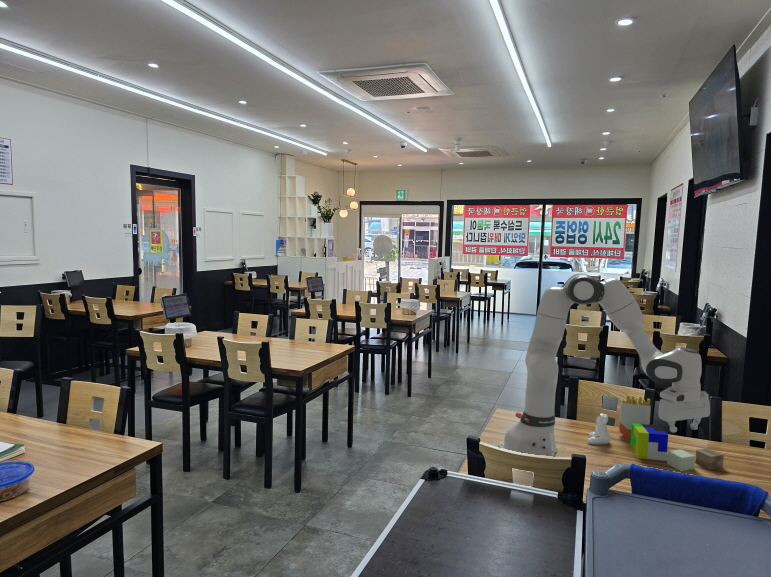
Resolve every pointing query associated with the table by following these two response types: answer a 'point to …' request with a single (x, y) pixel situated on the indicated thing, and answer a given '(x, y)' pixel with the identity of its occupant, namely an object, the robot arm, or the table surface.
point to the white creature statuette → (600, 432)
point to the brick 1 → (681, 460)
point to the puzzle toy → (649, 441)
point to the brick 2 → (709, 458)
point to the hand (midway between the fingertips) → (683, 430)
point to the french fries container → (633, 414)
